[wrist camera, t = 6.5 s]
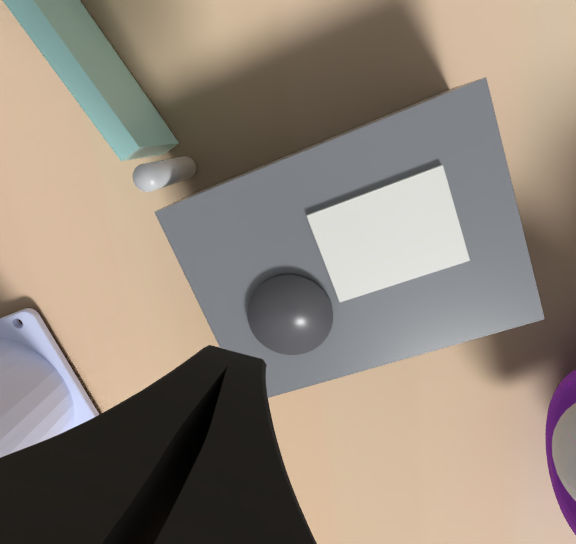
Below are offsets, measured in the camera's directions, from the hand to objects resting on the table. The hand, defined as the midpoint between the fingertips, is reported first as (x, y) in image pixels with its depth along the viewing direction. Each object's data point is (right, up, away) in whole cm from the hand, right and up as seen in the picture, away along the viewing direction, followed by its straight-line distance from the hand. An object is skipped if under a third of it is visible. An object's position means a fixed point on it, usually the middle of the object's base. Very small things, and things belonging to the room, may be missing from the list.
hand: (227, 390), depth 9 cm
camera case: (+4, +4, +9) cm, 10 cm away
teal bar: (-6, +11, +7) cm, 14 cm away
